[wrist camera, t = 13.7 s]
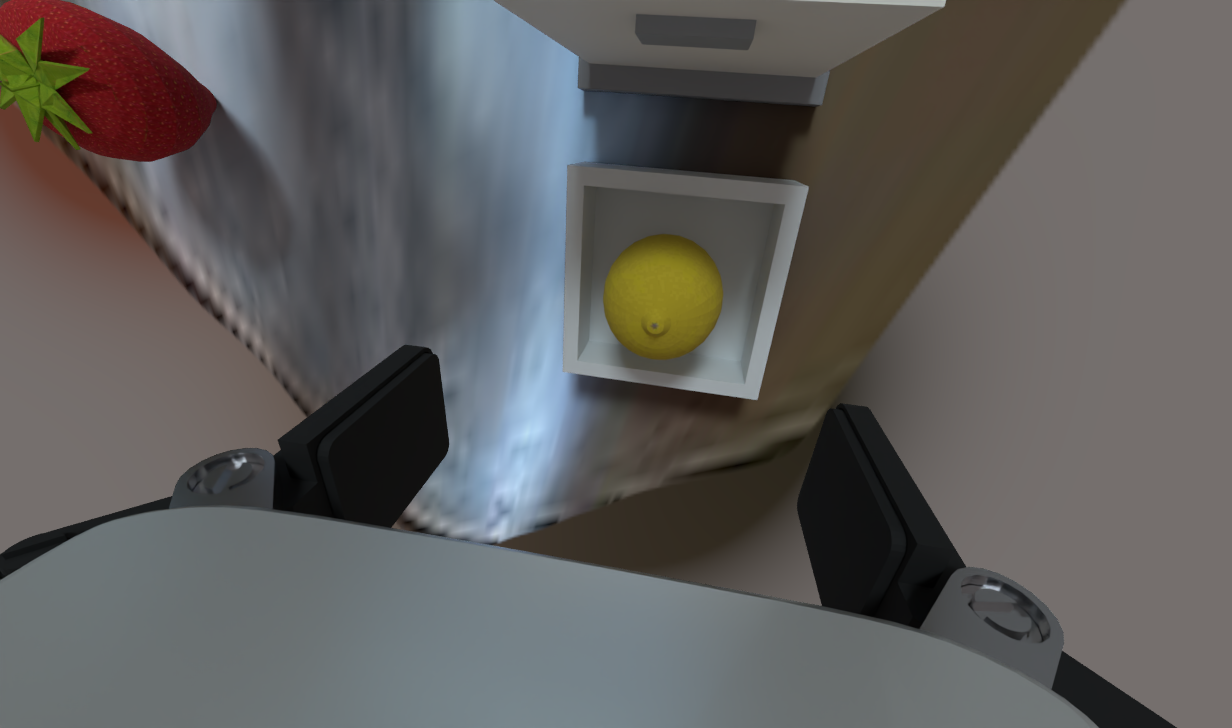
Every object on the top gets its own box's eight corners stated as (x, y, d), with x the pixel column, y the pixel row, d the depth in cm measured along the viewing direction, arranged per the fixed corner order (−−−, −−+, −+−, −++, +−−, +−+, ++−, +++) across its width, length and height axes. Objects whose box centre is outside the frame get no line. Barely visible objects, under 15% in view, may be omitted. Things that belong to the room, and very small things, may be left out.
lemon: (711, 211, 24) (715, 242, 16) (726, 312, 26) (735, 379, 19) (607, 233, 25) (570, 271, 18) (630, 328, 27) (604, 396, 20)
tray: (577, 346, 29) (562, 371, 26) (585, 161, 24) (567, 165, 21) (751, 370, 28) (757, 400, 24) (794, 180, 23) (808, 186, 20)
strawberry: (150, -4, 24) (-170, -87, 15) (280, 83, 25) (48, 53, 16) (142, 105, 27) (-134, 89, 18) (260, 182, 28) (52, 201, 19)
